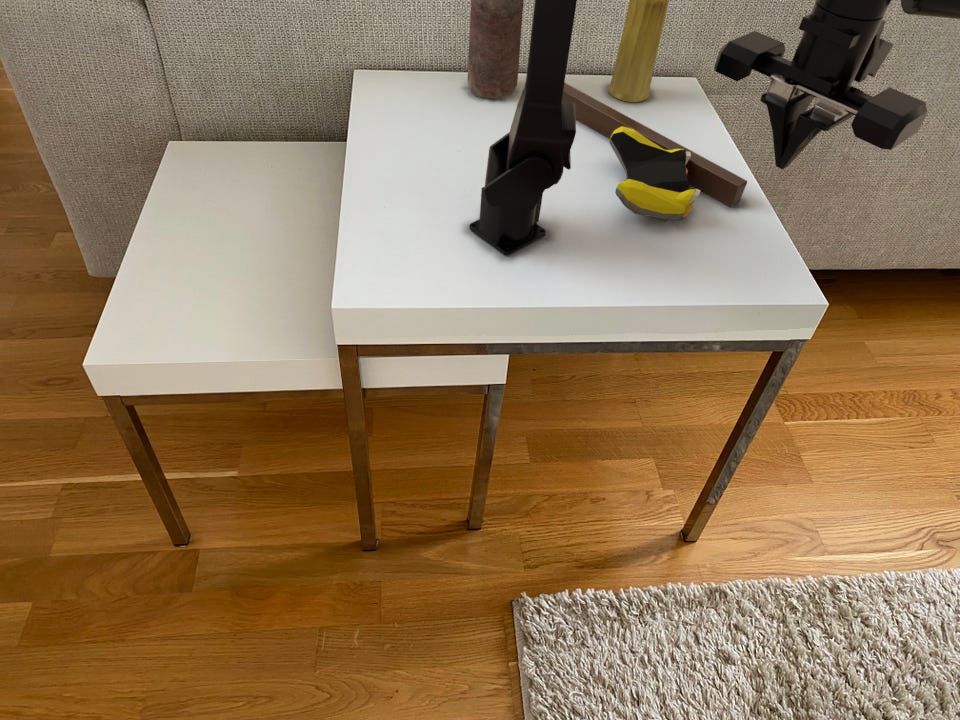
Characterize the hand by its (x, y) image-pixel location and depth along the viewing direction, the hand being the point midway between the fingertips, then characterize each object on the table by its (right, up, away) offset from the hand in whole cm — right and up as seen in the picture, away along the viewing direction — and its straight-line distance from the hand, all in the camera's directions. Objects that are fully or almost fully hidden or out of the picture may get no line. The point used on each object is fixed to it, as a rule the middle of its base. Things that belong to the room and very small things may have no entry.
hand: (781, 166), depth 72 cm
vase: (-9, +20, +34) cm, 40 cm away
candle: (-29, +20, +32) cm, 48 cm away
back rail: (-10, +9, +23) cm, 27 cm away
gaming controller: (-10, 0, +15) cm, 18 cm away
